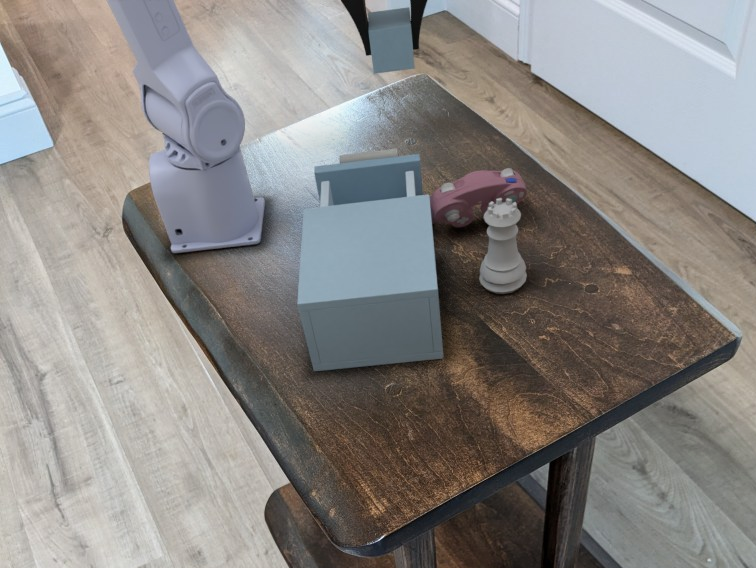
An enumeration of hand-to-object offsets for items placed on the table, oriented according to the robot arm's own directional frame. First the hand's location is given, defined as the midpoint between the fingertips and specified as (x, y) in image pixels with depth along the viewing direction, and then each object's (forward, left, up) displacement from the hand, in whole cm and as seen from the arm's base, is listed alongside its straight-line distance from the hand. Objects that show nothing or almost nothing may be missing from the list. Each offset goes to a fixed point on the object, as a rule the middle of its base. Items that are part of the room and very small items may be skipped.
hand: (392, 48), depth 92 cm
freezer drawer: (-3, -21, -9) cm, 22 cm away
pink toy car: (+7, -19, -10) cm, 22 cm away
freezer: (-3, -32, -10) cm, 33 cm away
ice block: (0, 0, -1) cm, 1 cm away
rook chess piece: (+9, -29, -10) cm, 32 cm away
